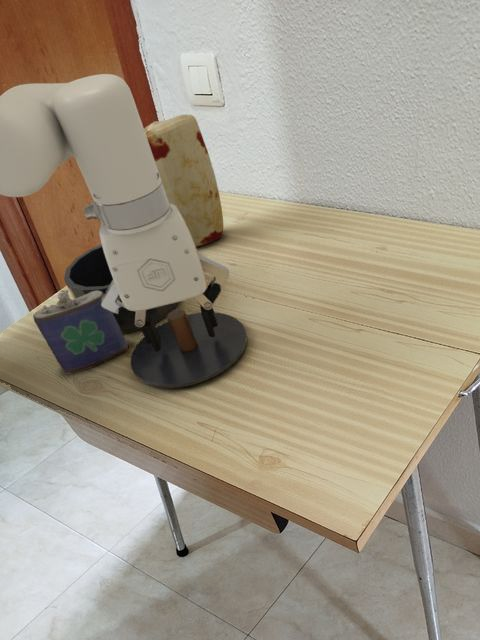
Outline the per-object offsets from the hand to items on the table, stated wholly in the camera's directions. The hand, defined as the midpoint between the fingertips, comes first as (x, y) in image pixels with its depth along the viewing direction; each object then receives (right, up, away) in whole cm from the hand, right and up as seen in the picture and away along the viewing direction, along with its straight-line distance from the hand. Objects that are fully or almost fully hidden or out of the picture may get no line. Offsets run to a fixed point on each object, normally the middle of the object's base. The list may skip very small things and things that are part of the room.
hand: (184, 337), depth 77 cm
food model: (-2, +20, +25) cm, 32 cm away
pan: (-11, +7, +13) cm, 18 cm away
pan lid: (0, -1, +1) cm, 2 cm away
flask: (-13, -3, +4) cm, 14 cm away
